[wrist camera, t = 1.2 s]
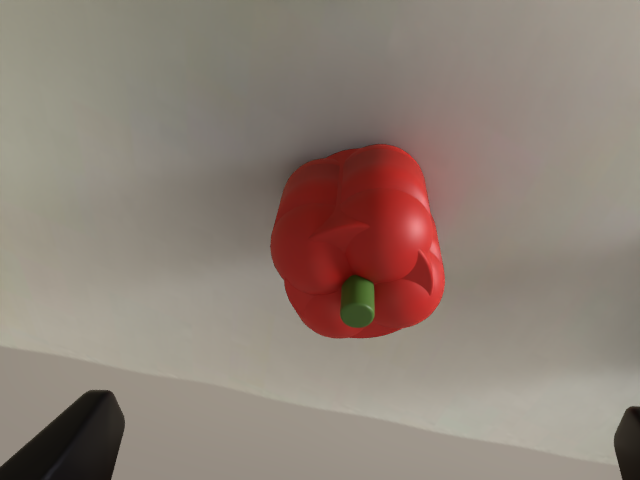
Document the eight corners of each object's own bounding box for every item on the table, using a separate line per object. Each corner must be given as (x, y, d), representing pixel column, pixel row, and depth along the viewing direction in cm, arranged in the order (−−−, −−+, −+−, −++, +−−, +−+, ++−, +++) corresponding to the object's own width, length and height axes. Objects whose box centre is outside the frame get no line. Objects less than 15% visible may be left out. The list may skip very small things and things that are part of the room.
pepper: (470, 170, 19) (510, 289, 14) (386, 277, 22) (391, 407, 17) (327, 95, 18) (309, 194, 12) (260, 220, 21) (223, 340, 16)
